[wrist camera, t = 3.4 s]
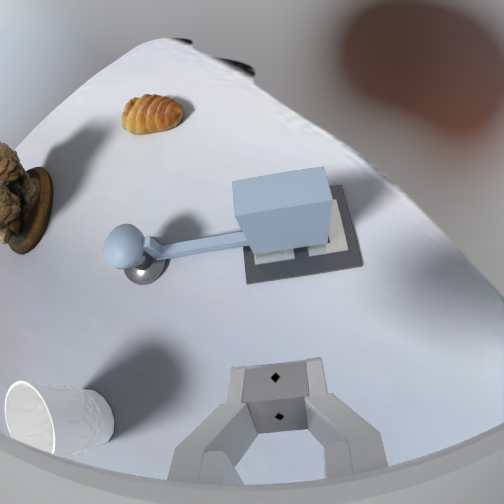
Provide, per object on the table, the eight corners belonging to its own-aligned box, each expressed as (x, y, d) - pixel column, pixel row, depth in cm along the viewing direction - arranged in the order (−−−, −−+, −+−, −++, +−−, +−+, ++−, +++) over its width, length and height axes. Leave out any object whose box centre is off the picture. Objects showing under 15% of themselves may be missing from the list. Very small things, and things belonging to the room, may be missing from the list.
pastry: (193, 105, 40) (185, 86, 37) (174, 139, 38) (163, 121, 35) (143, 105, 43) (133, 89, 39) (123, 137, 41) (111, 121, 37)
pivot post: (172, 272, 31) (156, 260, 27) (131, 292, 31) (112, 283, 28) (159, 231, 33) (143, 216, 30) (121, 252, 33) (103, 239, 30)
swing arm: (123, 280, 31) (76, 255, 23) (125, 243, 32) (83, 210, 25) (328, 250, 28) (335, 208, 21) (319, 208, 30) (321, 159, 22)
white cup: (70, 375, 29) (6, 369, 20) (123, 395, 27) (57, 398, 18) (66, 434, 26) (4, 441, 17) (117, 459, 25) (56, 479, 15)
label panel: (361, 266, 28) (362, 264, 27) (247, 284, 29) (246, 282, 29) (341, 186, 31) (341, 183, 31) (239, 202, 32) (238, 200, 32)
